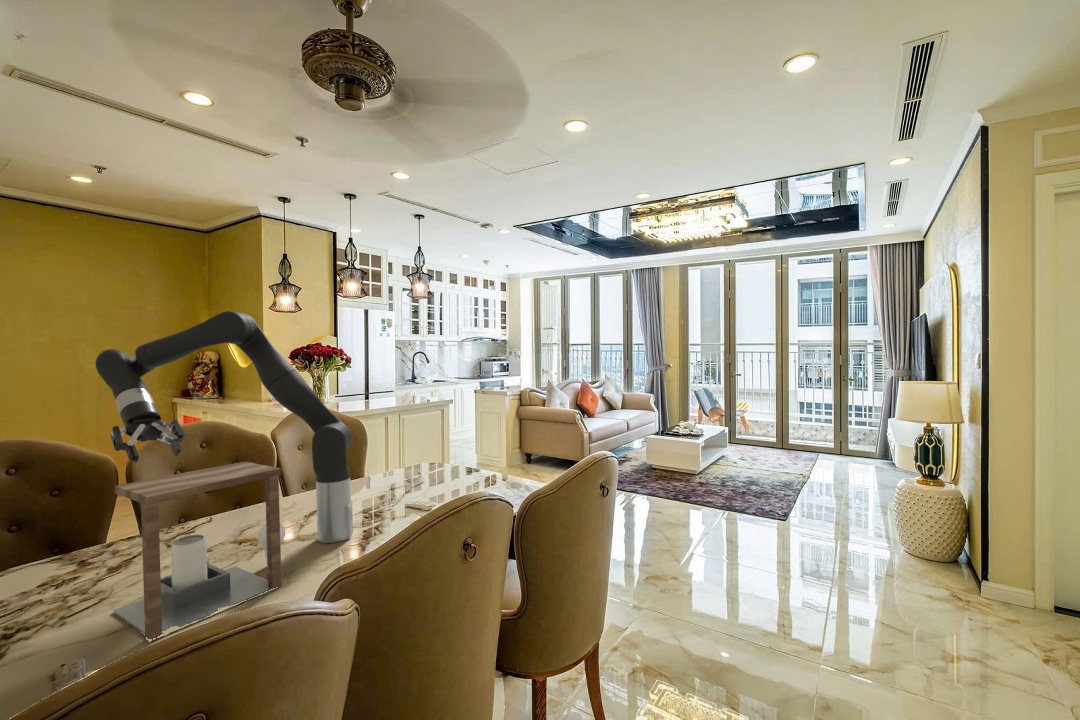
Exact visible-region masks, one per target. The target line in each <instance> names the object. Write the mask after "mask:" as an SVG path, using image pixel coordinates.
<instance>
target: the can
mask: <svg viewBox="0 0 1080 720" xmlns="http://www.w3.org/2000/svg"><path fill="white" fill-rule="evenodd" d="M207 550H208V549H207V541H206V540H205V539H204V535H202V534H191V535H185V536H182V537H180V538H176V539H175V540H174V541H173V542H172V547H171V549H170V567H171V568H170V569H171V570H170V572H171V573H170V575H171V577H172V589H174V590H176V591H178V590H180V589H183V588H186V587H189V586H191V585H194V584H197V583H199V582H202V581H205V580H208V578H207V563H208V555H207Z"/></svg>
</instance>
